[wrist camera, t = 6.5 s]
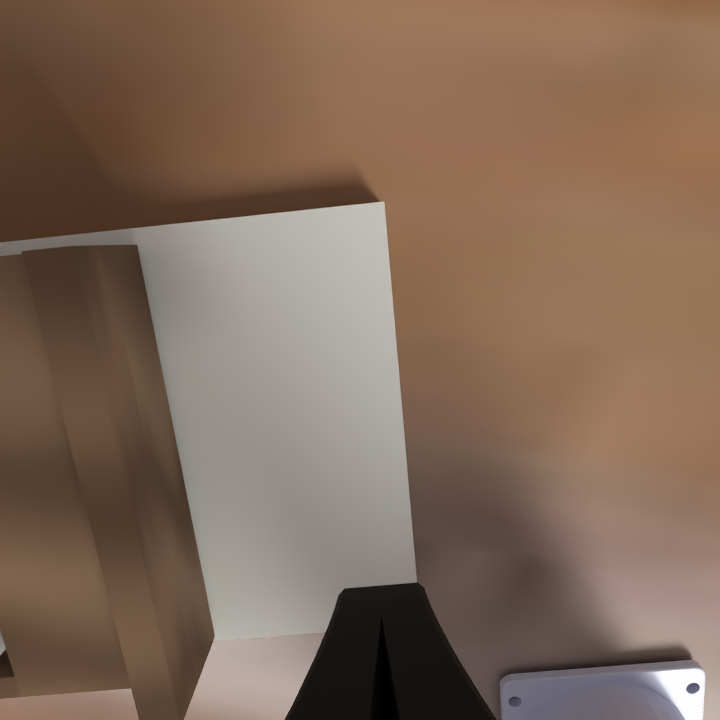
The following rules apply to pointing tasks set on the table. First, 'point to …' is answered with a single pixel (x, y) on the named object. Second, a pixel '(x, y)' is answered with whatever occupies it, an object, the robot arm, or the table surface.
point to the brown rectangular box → (92, 490)
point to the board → (280, 406)
